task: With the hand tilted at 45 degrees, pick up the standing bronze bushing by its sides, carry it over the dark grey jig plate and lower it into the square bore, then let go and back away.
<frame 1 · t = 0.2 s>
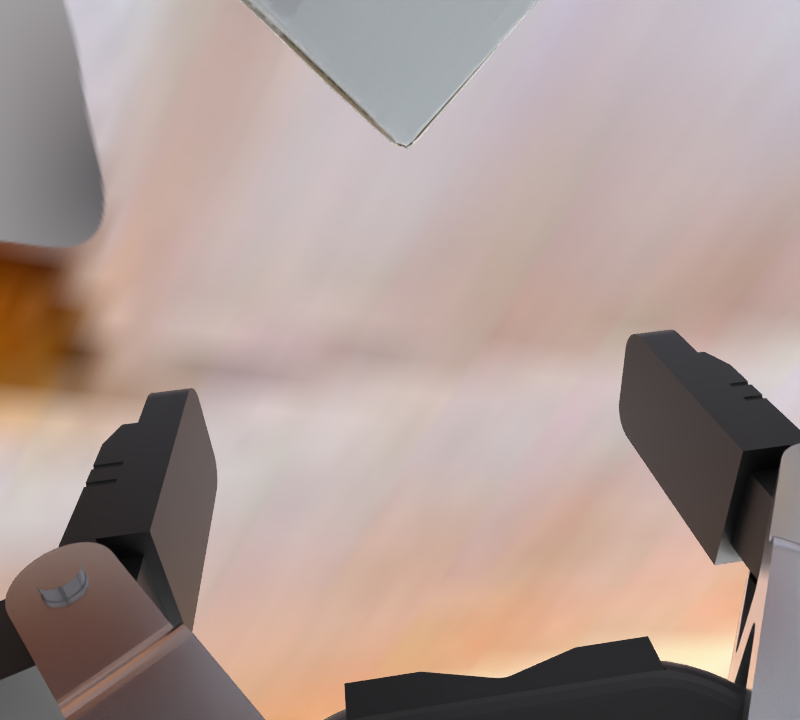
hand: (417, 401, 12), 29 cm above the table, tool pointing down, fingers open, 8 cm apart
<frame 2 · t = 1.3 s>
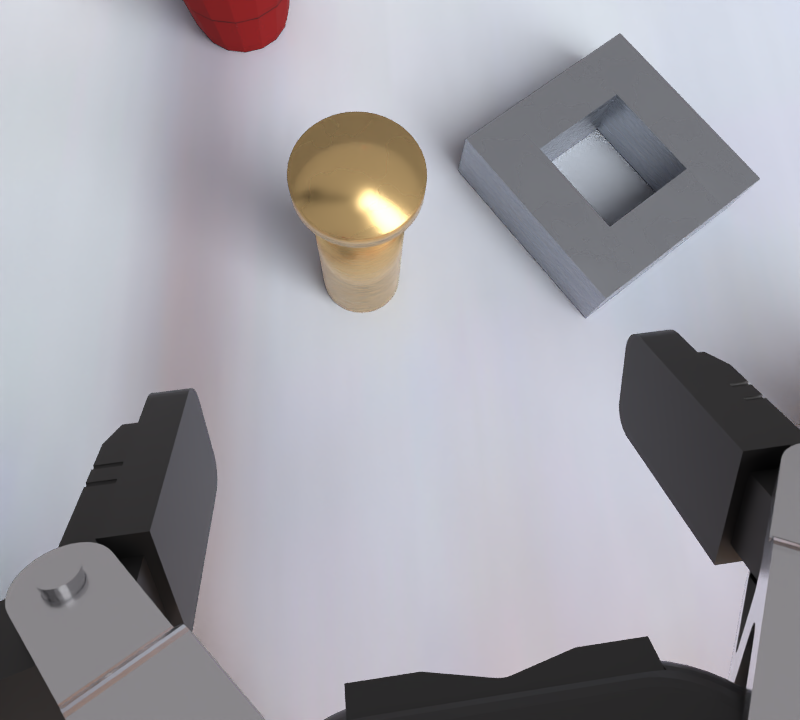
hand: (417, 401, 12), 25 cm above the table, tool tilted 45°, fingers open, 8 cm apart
plastic cup: (247, 16, 43), on the table
bushing: (361, 276, 39), on the table
jig: (593, 188, 41), on the table
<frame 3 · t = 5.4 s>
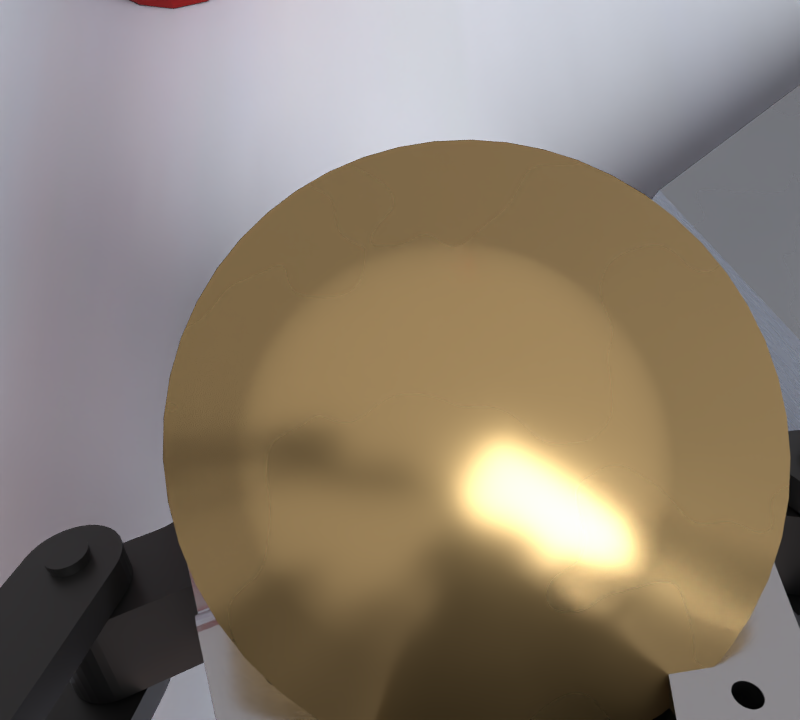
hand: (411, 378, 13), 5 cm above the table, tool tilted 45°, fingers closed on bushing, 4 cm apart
bushing: (412, 491, 18), on the table, touching gripper
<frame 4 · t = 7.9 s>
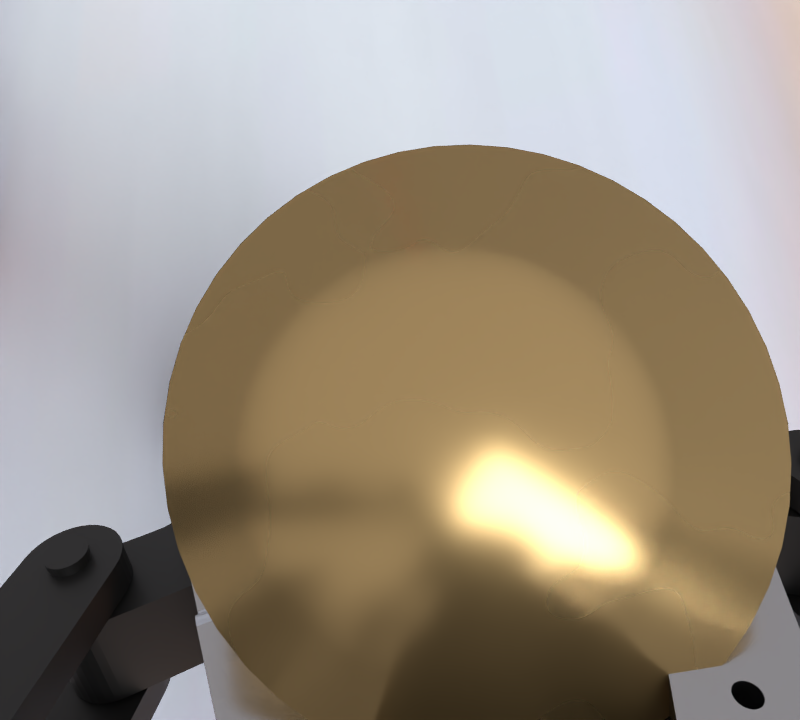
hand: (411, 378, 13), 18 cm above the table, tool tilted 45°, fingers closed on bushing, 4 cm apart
bushing: (412, 493, 18), point 13 cm above the table, touching gripper
when the fingers open (7 cm above the table, at t = 10.4 s): bushing drops 2 cm, resting in jig.
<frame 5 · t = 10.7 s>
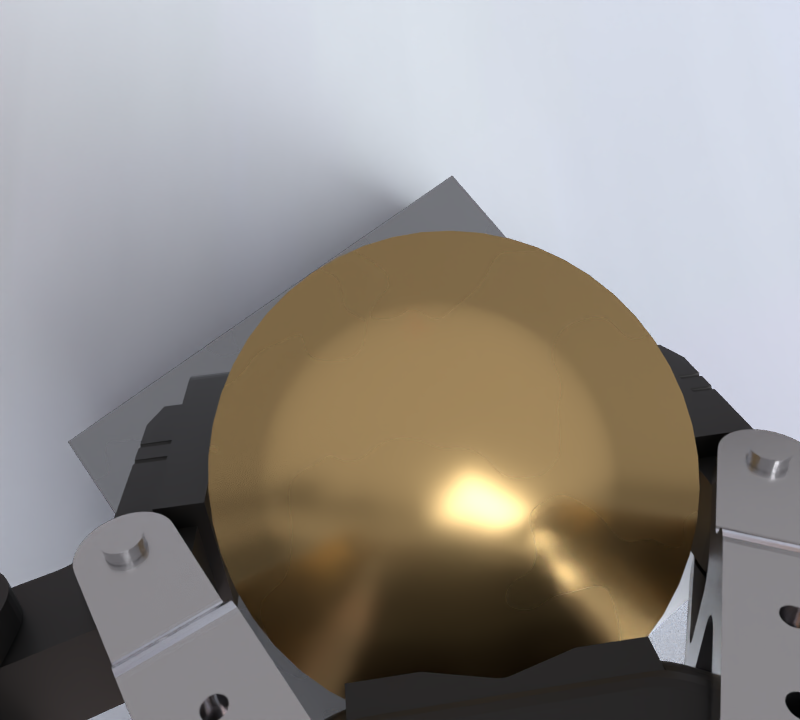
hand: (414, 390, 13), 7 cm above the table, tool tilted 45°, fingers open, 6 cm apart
bushing: (408, 499, 19), resting in jig
jig: (408, 494, 19), on the table
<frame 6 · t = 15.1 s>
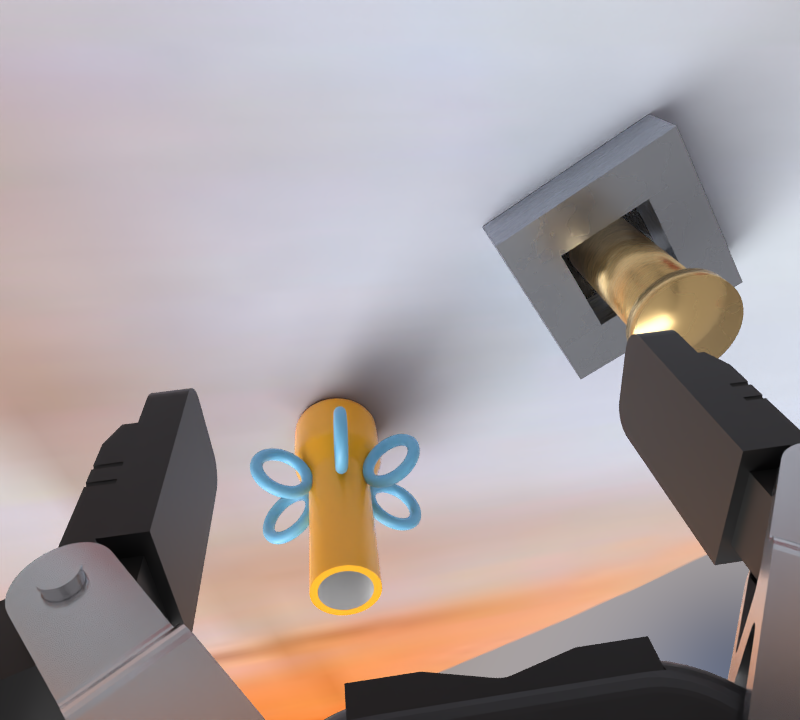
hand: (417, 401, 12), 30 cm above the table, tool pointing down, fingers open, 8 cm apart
bushing: (600, 244, 44), resting in jig
tube with loops: (336, 428, 50), on the table
jig: (602, 245, 44), on the table
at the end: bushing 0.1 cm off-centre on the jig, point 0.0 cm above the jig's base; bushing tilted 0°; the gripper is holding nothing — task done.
